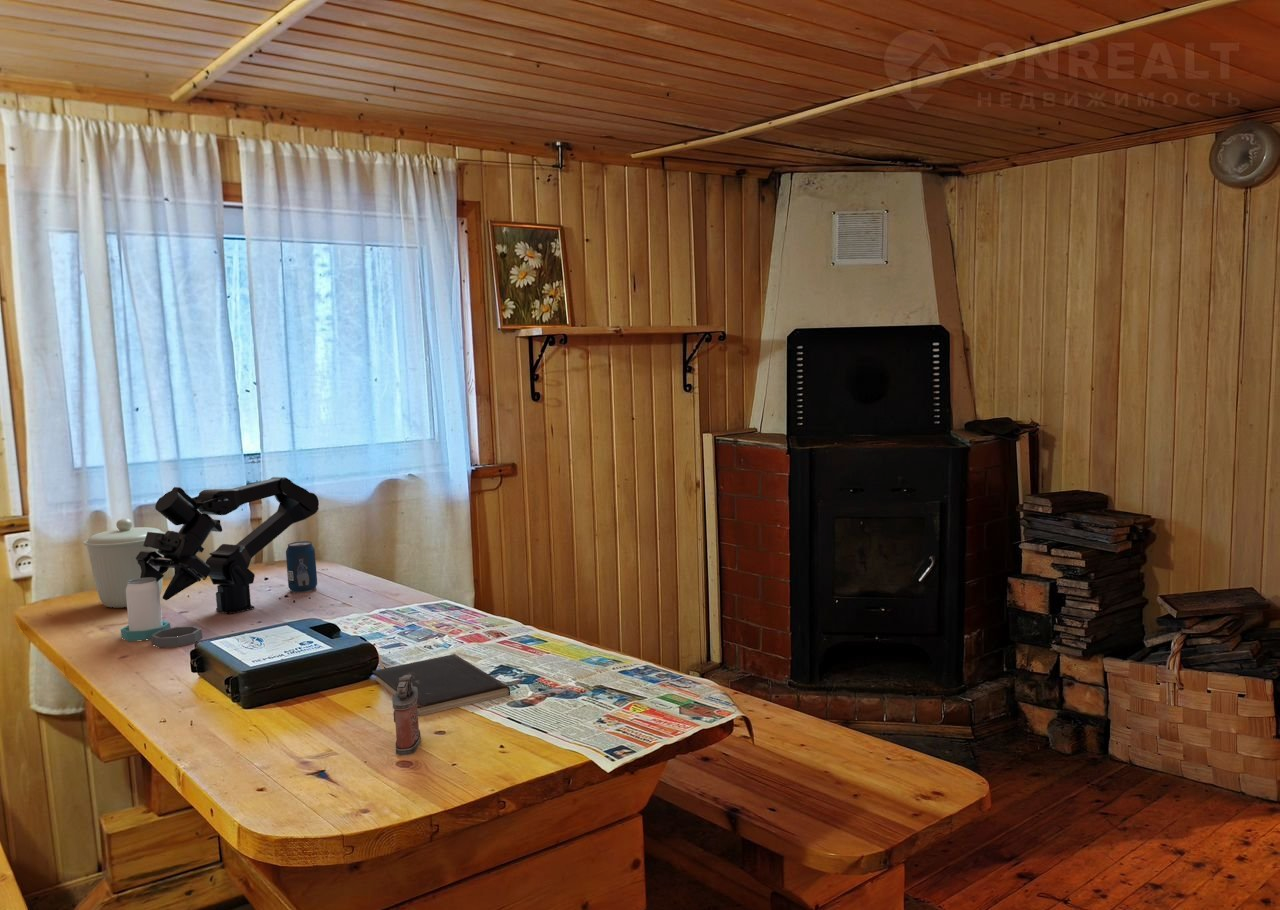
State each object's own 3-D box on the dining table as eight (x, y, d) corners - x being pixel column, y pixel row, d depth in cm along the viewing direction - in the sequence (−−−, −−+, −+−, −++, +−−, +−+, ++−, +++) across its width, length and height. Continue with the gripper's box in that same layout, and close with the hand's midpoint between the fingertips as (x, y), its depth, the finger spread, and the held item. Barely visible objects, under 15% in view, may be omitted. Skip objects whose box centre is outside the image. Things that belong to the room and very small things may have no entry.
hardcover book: (418, 720, 157) (417, 706, 156) (373, 683, 176) (372, 670, 176) (510, 698, 165) (510, 684, 165) (458, 665, 184) (457, 653, 184)
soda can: (306, 585, 255) (303, 539, 254) (323, 588, 251) (319, 542, 250) (283, 591, 250) (279, 544, 249) (299, 594, 246) (296, 546, 244)
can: (139, 640, 209) (134, 585, 207) (124, 636, 213) (119, 581, 211) (169, 633, 214) (164, 578, 213) (153, 629, 218) (149, 575, 216)
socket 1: (159, 627, 219) (158, 618, 219) (175, 633, 213) (174, 624, 213) (116, 636, 213) (116, 627, 213) (132, 643, 207) (132, 634, 207)
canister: (178, 603, 242) (170, 518, 239) (94, 617, 232) (85, 527, 229) (165, 590, 256) (158, 510, 254) (86, 602, 246) (78, 519, 244)
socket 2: (189, 633, 213) (188, 624, 213) (207, 639, 207) (206, 630, 207) (147, 642, 207) (146, 633, 207) (164, 650, 201) (163, 640, 201)
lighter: (401, 735, 149) (396, 670, 148) (423, 733, 149) (419, 669, 148) (392, 756, 141) (387, 688, 140) (416, 754, 141) (411, 686, 140)
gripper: (139, 514, 221) (96, 574, 213) (193, 518, 212) (150, 580, 204) (174, 542, 229) (134, 601, 221) (227, 547, 220) (188, 608, 211)
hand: (150, 597), depth 214 cm, fingers open, 9 cm apart
